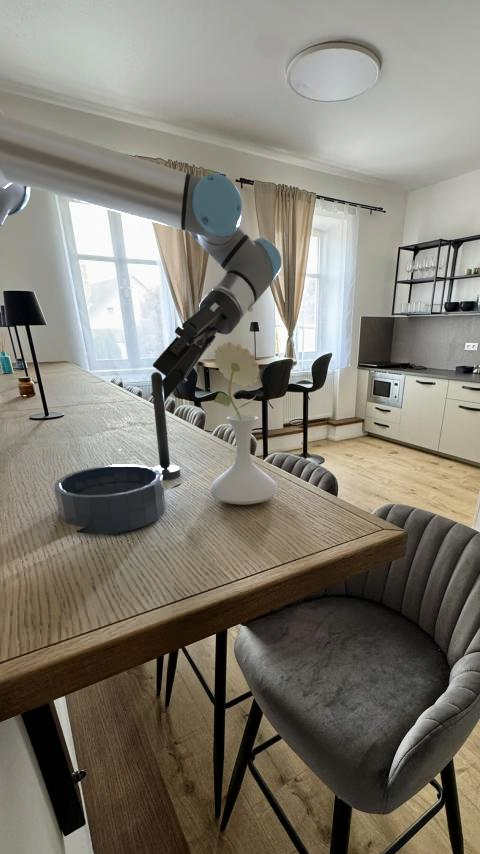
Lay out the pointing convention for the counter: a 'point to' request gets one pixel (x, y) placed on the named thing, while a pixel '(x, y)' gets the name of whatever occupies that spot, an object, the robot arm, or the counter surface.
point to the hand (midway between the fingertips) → (158, 386)
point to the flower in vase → (240, 433)
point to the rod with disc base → (162, 430)
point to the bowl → (111, 498)
